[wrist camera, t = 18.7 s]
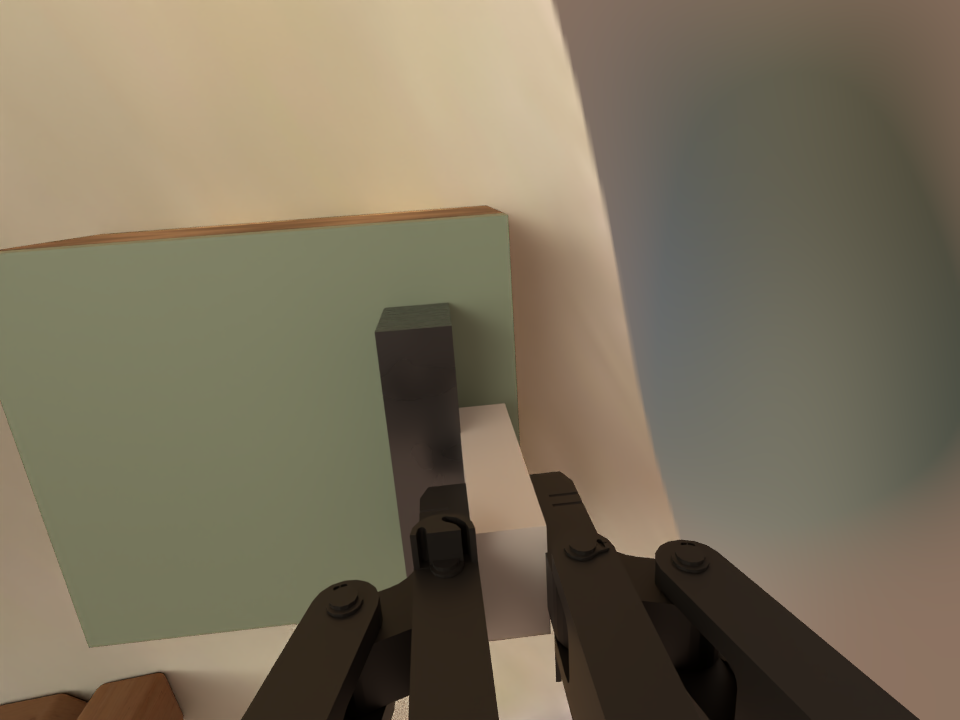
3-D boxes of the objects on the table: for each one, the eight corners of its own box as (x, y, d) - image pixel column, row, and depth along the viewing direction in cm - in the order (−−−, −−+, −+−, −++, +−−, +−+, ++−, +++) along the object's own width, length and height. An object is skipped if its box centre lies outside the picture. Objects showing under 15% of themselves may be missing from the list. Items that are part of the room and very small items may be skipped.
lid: (107, 622, 21) (32, 724, 17) (-18, 252, 17) (-158, 273, 13) (522, 575, 22) (542, 662, 18) (503, 212, 18) (523, 221, 14)
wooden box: (179, 526, 27) (112, 616, 22) (99, 234, 23) (-11, 251, 17) (503, 492, 28) (521, 571, 22) (485, 205, 24) (502, 212, 18)
